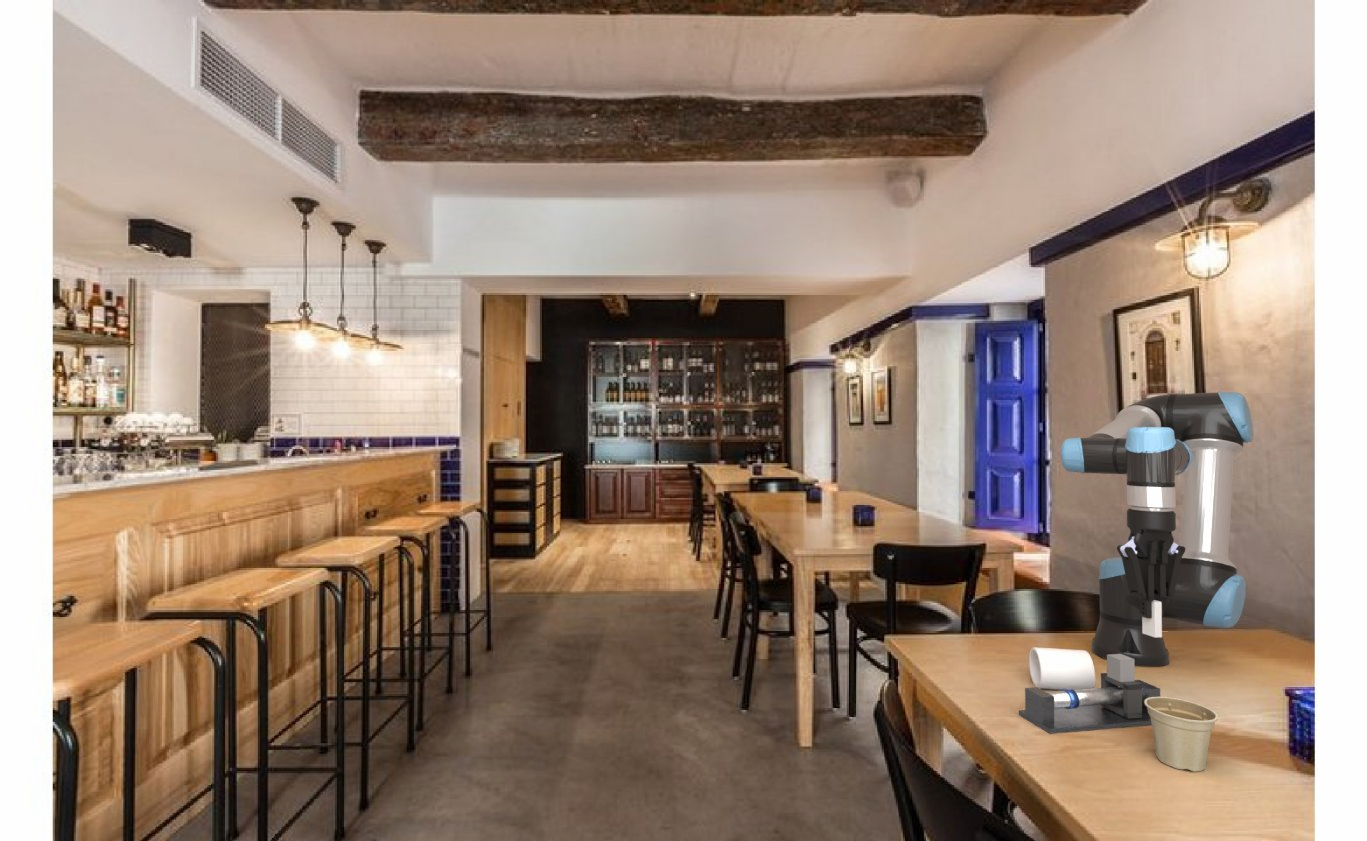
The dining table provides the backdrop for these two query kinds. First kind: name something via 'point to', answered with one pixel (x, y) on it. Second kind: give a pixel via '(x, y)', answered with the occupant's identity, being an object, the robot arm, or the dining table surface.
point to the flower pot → (1181, 731)
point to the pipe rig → (1081, 709)
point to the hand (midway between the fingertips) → (1152, 635)
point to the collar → (1123, 685)
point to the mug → (1061, 669)
